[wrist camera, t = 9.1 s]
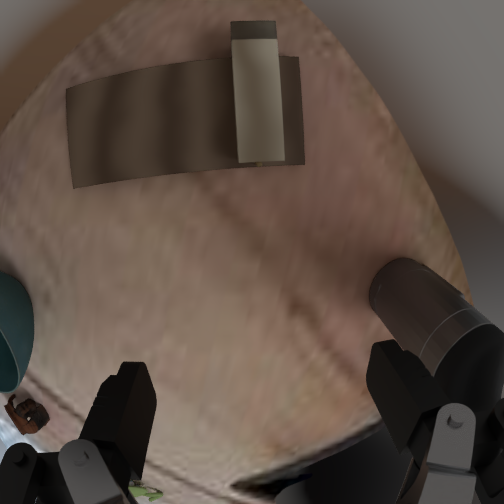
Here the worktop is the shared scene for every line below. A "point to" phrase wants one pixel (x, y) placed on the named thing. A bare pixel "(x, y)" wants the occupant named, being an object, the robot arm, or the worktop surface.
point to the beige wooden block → (257, 92)
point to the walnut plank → (168, 122)
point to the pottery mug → (27, 415)
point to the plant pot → (14, 332)
